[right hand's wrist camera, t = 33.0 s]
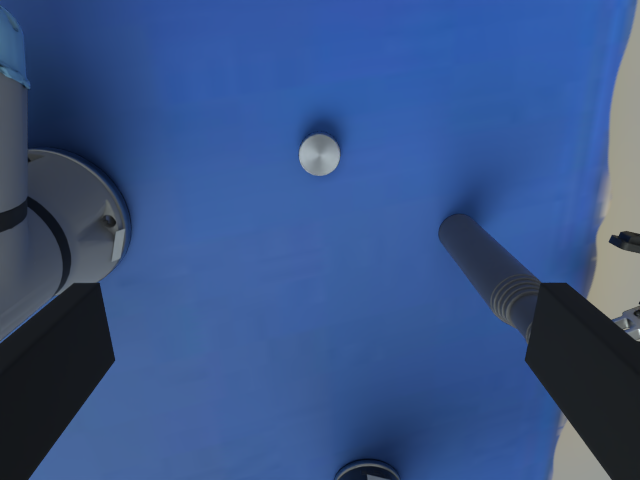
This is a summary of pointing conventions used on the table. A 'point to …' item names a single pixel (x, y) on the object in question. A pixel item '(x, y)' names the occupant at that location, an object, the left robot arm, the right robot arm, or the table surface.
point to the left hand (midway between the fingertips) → (594, 282)
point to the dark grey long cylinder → (492, 272)
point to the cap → (319, 153)
